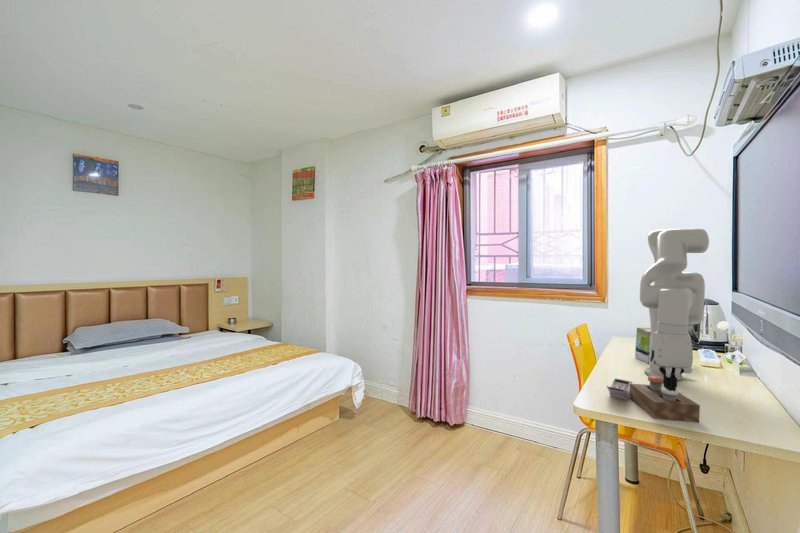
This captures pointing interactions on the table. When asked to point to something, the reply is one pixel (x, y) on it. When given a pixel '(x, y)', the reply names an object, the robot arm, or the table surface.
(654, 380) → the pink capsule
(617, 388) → the mobile phone
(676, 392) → the white light bulb
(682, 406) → the block
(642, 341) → the tea box
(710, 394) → the table surface
